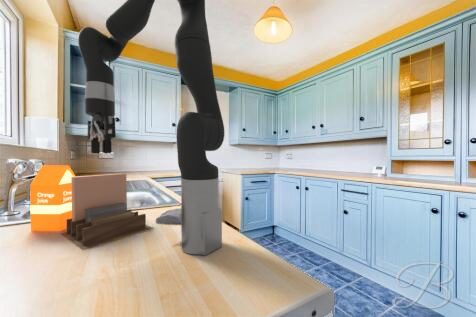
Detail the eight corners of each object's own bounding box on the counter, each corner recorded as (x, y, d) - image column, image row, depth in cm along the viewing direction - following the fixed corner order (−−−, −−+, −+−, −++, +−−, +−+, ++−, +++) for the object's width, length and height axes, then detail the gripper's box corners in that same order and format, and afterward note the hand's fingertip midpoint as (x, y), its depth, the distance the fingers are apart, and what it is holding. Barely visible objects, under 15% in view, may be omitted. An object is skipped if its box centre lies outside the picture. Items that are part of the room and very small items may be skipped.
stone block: (154, 233, 66) (184, 227, 66) (151, 218, 66) (181, 212, 66) (167, 222, 78) (193, 217, 78) (165, 210, 78) (191, 204, 78)
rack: (154, 231, 62) (154, 214, 62) (83, 254, 48) (82, 233, 48) (125, 220, 73) (125, 206, 73) (60, 236, 59) (59, 219, 59)
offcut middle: (127, 226, 64) (126, 203, 64) (89, 236, 56) (89, 210, 56) (122, 224, 66) (122, 202, 66) (85, 233, 58) (85, 209, 58)
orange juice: (54, 225, 68) (53, 164, 68) (80, 225, 68) (79, 164, 68) (29, 234, 60) (28, 166, 60) (59, 234, 60) (58, 166, 60)
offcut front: (134, 229, 62) (134, 212, 62) (95, 240, 54) (95, 221, 53) (129, 227, 63) (129, 210, 63) (91, 237, 55) (91, 219, 55)
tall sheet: (126, 221, 68) (126, 173, 68) (74, 235, 57) (74, 177, 57) (123, 220, 70) (122, 173, 70) (72, 233, 59) (71, 176, 58)
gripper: (124, 98, 62) (124, 153, 62) (104, 105, 70) (104, 153, 70) (95, 92, 56) (96, 153, 56) (77, 101, 64) (78, 153, 64)
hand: (100, 153), depth 63 cm, fingers open, 8 cm apart
